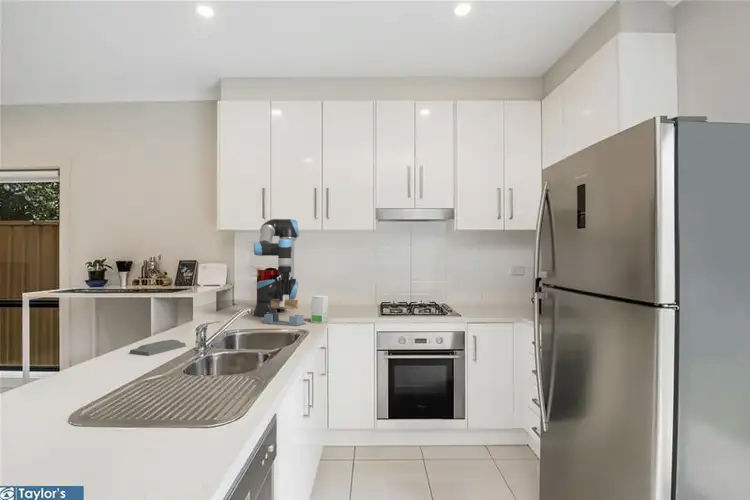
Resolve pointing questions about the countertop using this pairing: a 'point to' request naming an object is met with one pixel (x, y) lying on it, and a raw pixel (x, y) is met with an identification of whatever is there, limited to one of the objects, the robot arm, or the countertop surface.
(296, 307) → the brown long rectangular block
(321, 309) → the skincare box
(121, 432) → the countertop surface
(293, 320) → the endcap rail
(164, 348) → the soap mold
